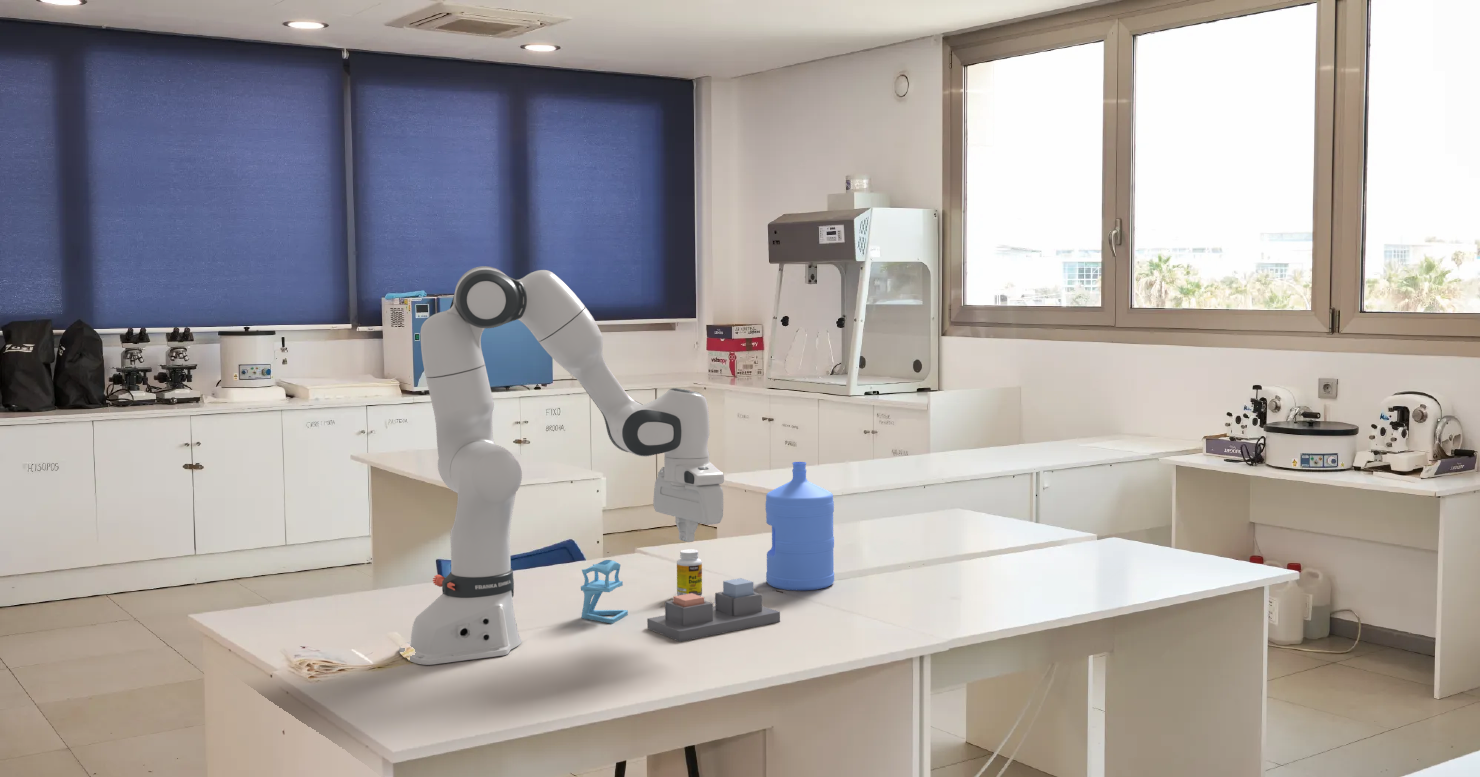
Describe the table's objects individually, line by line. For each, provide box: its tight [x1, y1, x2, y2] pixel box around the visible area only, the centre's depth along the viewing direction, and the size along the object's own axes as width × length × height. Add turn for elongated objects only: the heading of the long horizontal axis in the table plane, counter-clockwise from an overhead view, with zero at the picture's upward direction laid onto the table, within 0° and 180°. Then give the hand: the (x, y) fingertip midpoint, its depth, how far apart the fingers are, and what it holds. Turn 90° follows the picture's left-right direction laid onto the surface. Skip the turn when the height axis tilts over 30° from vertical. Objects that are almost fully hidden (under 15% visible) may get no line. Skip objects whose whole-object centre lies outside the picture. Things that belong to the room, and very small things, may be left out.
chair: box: [580, 559, 629, 624], centre depth 251 cm, size 8×8×12 cm
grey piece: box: [646, 591, 781, 642], centre depth 244 cm, size 24×12×6 cm, turn 125°
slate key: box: [722, 577, 755, 598], centre depth 247 cm, size 4×4×3 cm
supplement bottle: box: [676, 548, 703, 596], centre depth 268 cm, size 6×6×10 cm
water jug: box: [765, 461, 835, 592], centre depth 278 cm, size 16×16×28 cm
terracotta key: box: [673, 593, 705, 607], centre depth 240 cm, size 4×4×3 cm
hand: (686, 540), depth 239 cm, fingers closed
